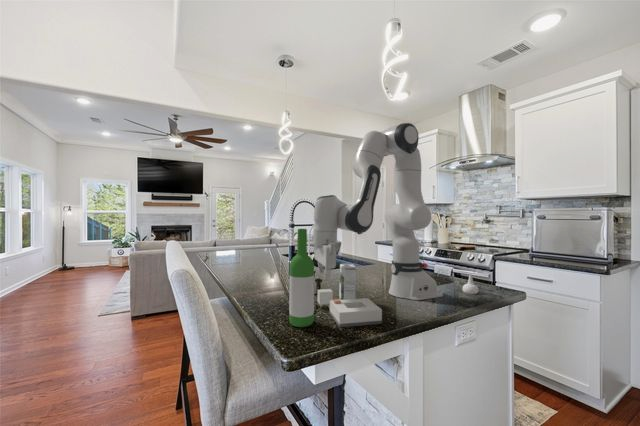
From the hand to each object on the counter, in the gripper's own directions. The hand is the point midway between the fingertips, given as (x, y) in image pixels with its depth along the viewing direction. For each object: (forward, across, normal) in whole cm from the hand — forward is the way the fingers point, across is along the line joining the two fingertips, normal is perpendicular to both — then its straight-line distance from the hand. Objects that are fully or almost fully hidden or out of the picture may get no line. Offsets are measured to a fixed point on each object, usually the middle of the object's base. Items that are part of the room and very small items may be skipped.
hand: (323, 275), depth 106 cm
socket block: (+11, -13, -8) cm, 19 cm away
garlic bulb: (+10, +6, -69) cm, 70 cm away
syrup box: (+12, +4, -11) cm, 16 cm away
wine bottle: (+12, -14, +10) cm, 21 cm away
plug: (+12, 0, -1) cm, 12 cm away
